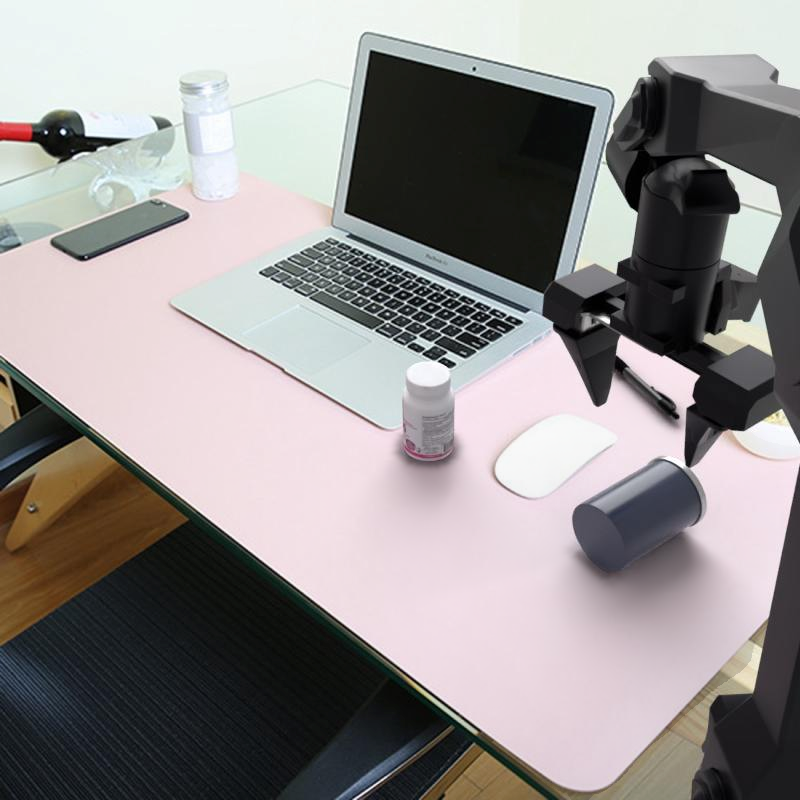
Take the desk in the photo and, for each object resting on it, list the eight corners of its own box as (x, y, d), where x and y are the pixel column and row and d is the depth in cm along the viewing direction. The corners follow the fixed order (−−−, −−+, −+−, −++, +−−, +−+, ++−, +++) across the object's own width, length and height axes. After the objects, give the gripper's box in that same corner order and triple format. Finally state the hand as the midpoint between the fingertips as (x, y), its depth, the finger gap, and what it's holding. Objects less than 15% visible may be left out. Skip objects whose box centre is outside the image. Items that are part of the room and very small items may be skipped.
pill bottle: (396, 436, 91) (394, 363, 86) (443, 426, 92) (444, 354, 87) (412, 467, 87) (411, 393, 82) (461, 457, 88) (463, 383, 83)
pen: (686, 419, 92) (688, 410, 91) (672, 424, 91) (674, 414, 91) (605, 347, 102) (606, 338, 102) (592, 350, 102) (593, 341, 101)
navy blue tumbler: (623, 589, 75) (701, 538, 79) (631, 532, 71) (713, 482, 75) (568, 542, 79) (644, 496, 83) (573, 487, 76) (653, 441, 79)
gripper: (875, 267, 61) (815, 454, 70) (652, 173, 73) (626, 344, 82) (766, 324, 56) (717, 518, 65) (545, 213, 68) (530, 390, 77)
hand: (644, 433), depth 72 cm, fingers open, 9 cm apart
